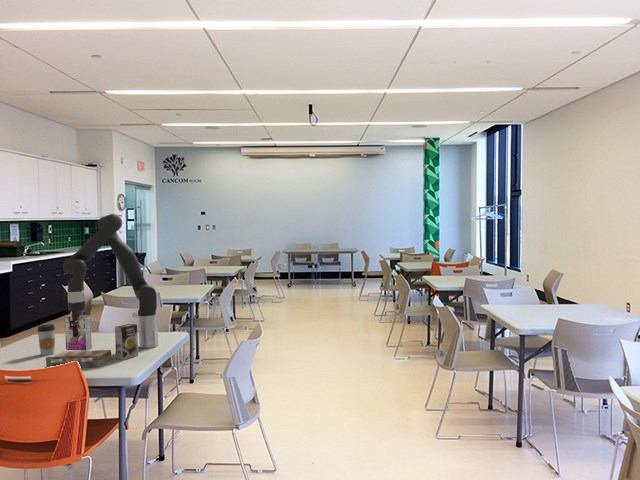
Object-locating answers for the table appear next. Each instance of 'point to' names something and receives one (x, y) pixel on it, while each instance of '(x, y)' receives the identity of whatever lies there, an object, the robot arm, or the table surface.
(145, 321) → the robot arm
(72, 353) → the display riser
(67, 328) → the candy bar box
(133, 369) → the table surface
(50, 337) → the coffee cup
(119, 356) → the coffee box
